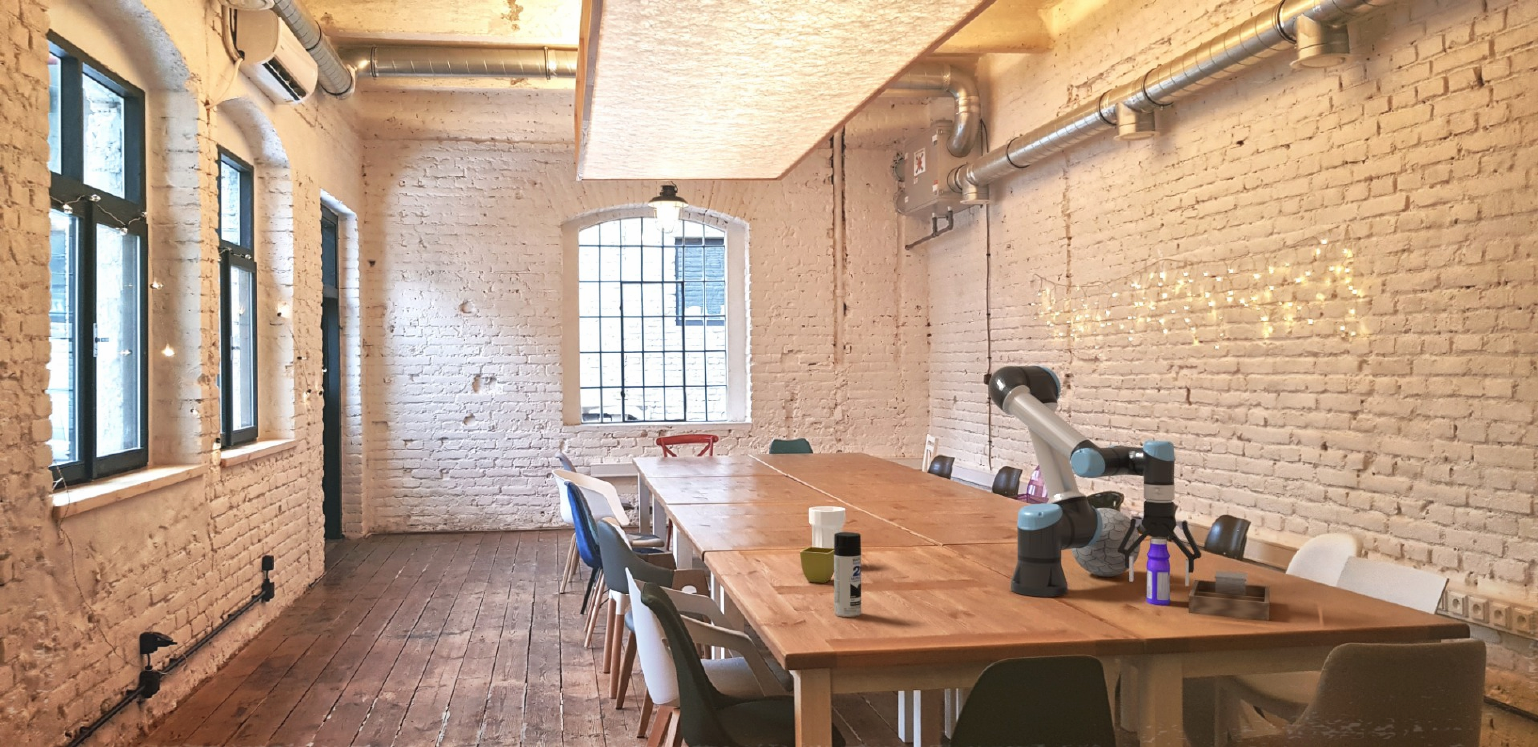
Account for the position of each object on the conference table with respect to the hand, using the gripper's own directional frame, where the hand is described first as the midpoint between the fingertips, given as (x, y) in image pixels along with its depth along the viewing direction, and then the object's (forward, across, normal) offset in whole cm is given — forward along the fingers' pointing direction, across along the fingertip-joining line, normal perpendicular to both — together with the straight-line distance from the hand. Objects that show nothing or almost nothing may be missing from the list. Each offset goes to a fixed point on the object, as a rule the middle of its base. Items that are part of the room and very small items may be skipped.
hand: (1159, 582), depth 275 cm
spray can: (+6, -68, -46) cm, 82 cm away
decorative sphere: (+6, -18, +33) cm, 38 cm away
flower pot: (+5, -90, -12) cm, 91 cm away
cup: (+5, -97, +11) cm, 98 cm away
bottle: (+6, 0, 0) cm, 6 cm away
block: (+5, +17, +7) cm, 19 cm away
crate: (+6, +17, +2) cm, 18 cm away
